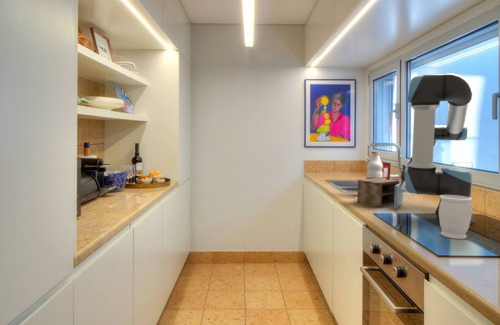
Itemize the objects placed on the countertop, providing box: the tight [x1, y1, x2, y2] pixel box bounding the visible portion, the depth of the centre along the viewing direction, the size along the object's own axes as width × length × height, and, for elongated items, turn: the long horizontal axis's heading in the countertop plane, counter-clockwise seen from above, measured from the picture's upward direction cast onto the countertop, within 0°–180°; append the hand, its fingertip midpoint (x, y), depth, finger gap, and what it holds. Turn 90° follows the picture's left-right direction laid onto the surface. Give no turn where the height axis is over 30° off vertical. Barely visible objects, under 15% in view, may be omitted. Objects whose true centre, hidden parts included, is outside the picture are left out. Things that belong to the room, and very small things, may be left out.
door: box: [393, 181, 404, 209], centre depth 177 cm, size 3×18×12 cm, turn 146°
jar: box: [439, 195, 474, 240], centre depth 126 cm, size 11×10×15 cm
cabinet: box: [356, 178, 400, 209], centre depth 186 cm, size 14×17×13 cm
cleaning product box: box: [367, 160, 391, 180], centre depth 229 cm, size 16×9×20 cm, turn 179°
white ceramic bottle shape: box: [366, 151, 383, 179], centre depth 209 cm, size 9×9×28 cm
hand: (402, 190), depth 176 cm, fingers closed
